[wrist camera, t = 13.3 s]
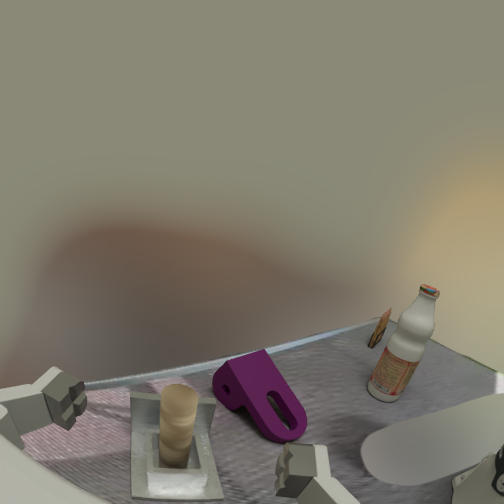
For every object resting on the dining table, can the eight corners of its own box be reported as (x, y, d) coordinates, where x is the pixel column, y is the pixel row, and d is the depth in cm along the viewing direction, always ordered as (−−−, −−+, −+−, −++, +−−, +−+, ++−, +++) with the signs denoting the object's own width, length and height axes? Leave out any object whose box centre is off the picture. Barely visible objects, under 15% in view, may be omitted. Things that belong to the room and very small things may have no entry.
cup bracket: (206, 434, 39) (215, 398, 37) (223, 500, 27) (236, 472, 25) (131, 429, 35) (130, 391, 33) (132, 498, 23) (127, 468, 21)
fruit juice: (368, 400, 55) (420, 288, 49) (364, 378, 64) (407, 277, 58) (402, 405, 54) (455, 299, 48) (395, 384, 63) (439, 286, 57)
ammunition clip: (376, 337, 91) (389, 306, 88) (381, 339, 90) (393, 308, 87) (367, 346, 83) (381, 312, 80) (372, 348, 82) (386, 315, 79)
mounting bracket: (287, 438, 48) (243, 368, 57) (315, 425, 44) (264, 348, 53) (254, 459, 41) (207, 380, 51) (281, 448, 37) (226, 360, 46)
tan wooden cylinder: (185, 455, 33) (196, 385, 29) (189, 476, 29) (200, 409, 26) (158, 453, 31) (160, 382, 28) (160, 475, 28) (161, 408, 24)
